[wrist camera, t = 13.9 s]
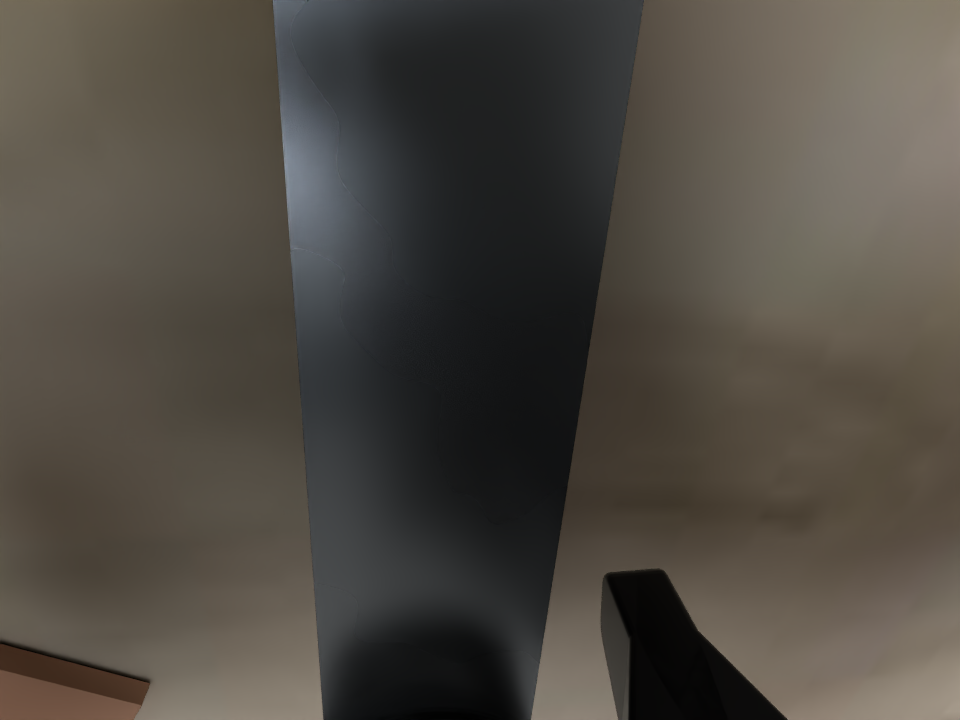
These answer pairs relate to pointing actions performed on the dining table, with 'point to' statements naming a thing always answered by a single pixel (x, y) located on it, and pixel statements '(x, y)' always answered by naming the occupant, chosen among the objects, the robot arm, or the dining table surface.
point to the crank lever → (444, 325)
